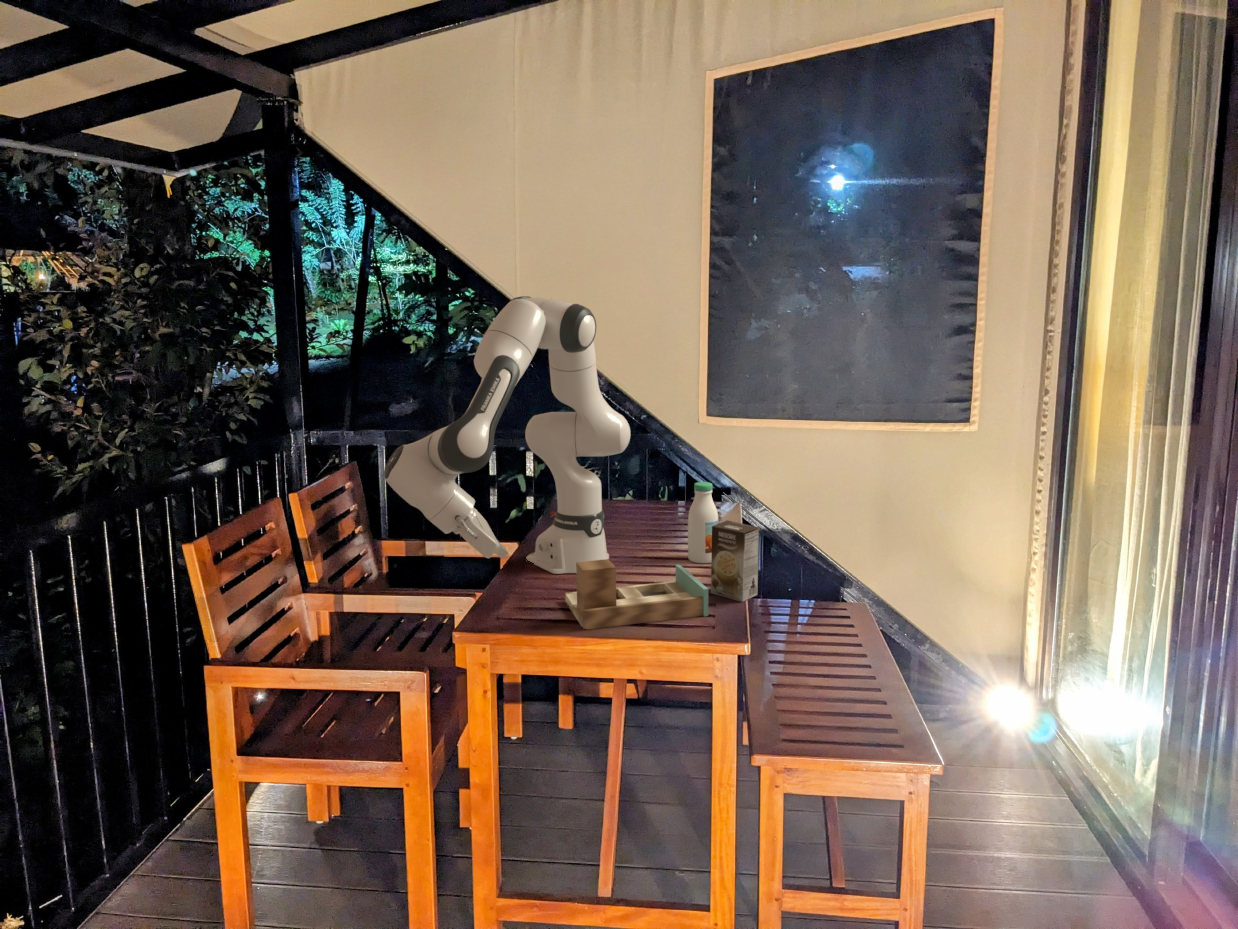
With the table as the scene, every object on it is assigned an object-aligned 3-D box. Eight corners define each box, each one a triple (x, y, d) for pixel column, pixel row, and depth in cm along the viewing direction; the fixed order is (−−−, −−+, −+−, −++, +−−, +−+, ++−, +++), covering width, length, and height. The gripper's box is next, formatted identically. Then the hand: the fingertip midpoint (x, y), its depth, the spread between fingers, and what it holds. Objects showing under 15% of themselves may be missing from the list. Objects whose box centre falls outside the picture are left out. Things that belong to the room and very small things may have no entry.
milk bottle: (694, 565, 227) (694, 487, 223) (683, 557, 234) (683, 481, 230) (723, 562, 229) (723, 485, 225) (711, 554, 236) (711, 479, 232)
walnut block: (583, 617, 187) (582, 570, 185) (577, 607, 193) (576, 562, 191) (616, 613, 189) (615, 567, 187) (609, 603, 194) (608, 559, 192)
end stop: (703, 616, 192) (703, 589, 190) (675, 590, 209) (675, 565, 208) (708, 615, 192) (708, 588, 191) (679, 589, 209) (679, 564, 208)
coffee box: (709, 593, 206) (709, 525, 203) (725, 586, 210) (726, 519, 207) (743, 602, 200) (743, 532, 197) (759, 595, 204) (760, 526, 201)
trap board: (583, 629, 185) (583, 611, 184) (565, 601, 202) (564, 584, 202) (703, 615, 192) (703, 597, 191) (675, 589, 209) (675, 572, 208)
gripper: (470, 511, 169) (524, 557, 173) (459, 489, 188) (507, 530, 193) (447, 536, 169) (502, 581, 173) (438, 511, 188) (487, 552, 192)
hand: (505, 554), depth 183 cm, fingers closed
